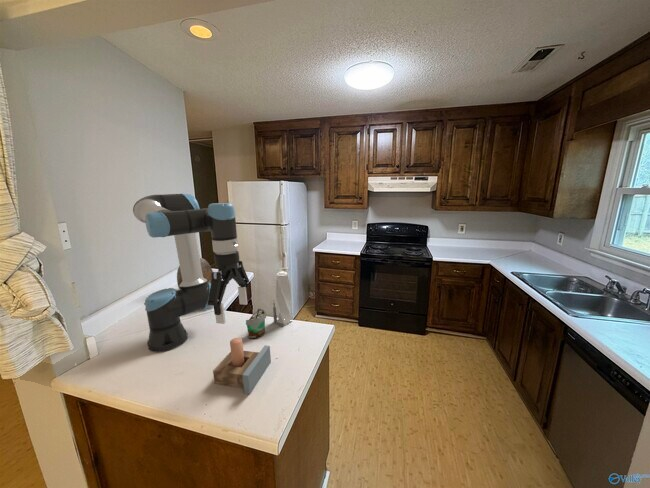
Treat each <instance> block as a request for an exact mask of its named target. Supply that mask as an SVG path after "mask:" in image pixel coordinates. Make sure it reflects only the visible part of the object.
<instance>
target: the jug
mask: <svg viewBox="0 0 650 488" xmlns="http://www.w3.org/2000/svg"><path fill="white" fill-rule="evenodd" d="M200 263H201V269H202V274H203V277H204V278H205V279H207V282H209V281H210V280H211V281H212V275H211V274H212V272H214V271H213V269H212V266H211V265H210V263H209V262H208V260H207V259H204V258H202V257H200ZM176 282H177V287H178V290H180V284H181V283H182V276H181V270H180V265H178V268H177V272H176Z"/></svg>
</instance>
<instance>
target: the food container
mask: <svg viewBox="0 0 650 488" xmlns="http://www.w3.org/2000/svg"><path fill="white" fill-rule="evenodd" d="M266 319H267V314H266V312H265V310H264V309H261V308H259V307H258V308H257V310H256V312H254V313H253V314H252V315H251V316H250V317H249V319H246V320H245V326H246V329H247V335H248V339H249V340H257V339H260V338H262V337H264V335H265V333H266Z"/></svg>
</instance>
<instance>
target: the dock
mask: <svg viewBox="0 0 650 488" xmlns="http://www.w3.org/2000/svg"><path fill="white" fill-rule="evenodd" d="M258 352H259V354H258V355H257V356H256V358H255V359H254V360H253V362H252V363H251V364H250V366H249V367H248V368H247V370H246V371H245V372H244V373H243V375H242V376H243V385H244V388H243V391H244V392H243V393H244V395H245V394H246V395H251V394H252V392H253V391H254V390H255V387H256V386H257V385H258V383H259V381H260V380H261V378H262V377H263V375H264V374H265V372H266V371H267V369H268V367H270V364H271V363H272V357H271V356H272V355H271V346H270V345H263V347H262V348H261V350H259V351H258Z"/></svg>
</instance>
